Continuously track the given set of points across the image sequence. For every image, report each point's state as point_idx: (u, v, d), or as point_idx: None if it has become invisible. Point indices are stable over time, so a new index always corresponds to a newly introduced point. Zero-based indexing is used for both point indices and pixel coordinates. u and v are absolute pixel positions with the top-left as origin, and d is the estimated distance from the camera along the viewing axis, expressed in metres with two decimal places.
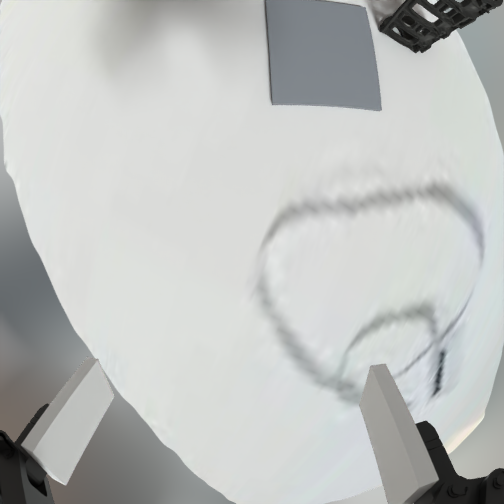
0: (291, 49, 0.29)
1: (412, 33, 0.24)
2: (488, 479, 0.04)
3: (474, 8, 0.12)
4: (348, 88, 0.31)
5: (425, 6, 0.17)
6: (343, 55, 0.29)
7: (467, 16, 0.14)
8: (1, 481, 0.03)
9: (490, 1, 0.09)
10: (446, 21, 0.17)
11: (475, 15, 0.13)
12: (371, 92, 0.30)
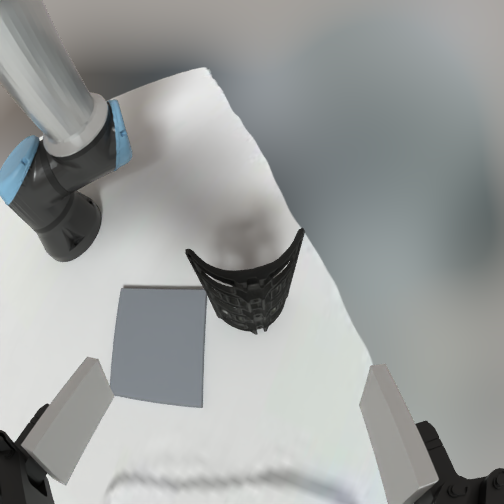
0: (128, 346, 0.38)
1: (235, 319, 0.36)
2: (488, 479, 0.04)
3: None
4: (169, 387, 0.35)
5: None
6: (170, 353, 0.38)
7: (249, 299, 0.26)
8: (1, 481, 0.03)
9: (255, 272, 0.23)
10: (242, 307, 0.30)
11: (265, 290, 0.26)
12: (192, 391, 0.35)
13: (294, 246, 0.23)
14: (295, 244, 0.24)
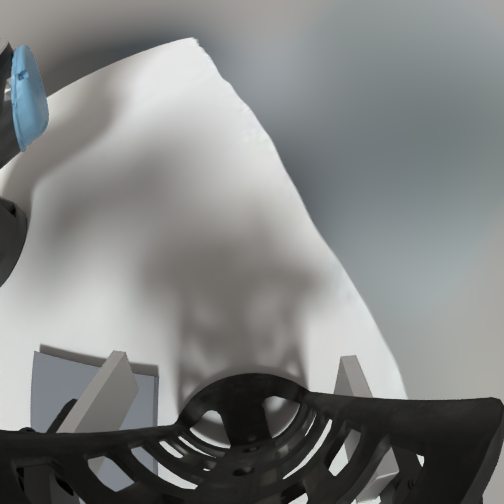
0: None
1: None
2: None
3: None
4: None
5: None
6: (103, 470, 0.15)
7: None
8: (25, 479, 0.04)
9: None
10: None
11: None
12: None
13: None
14: None
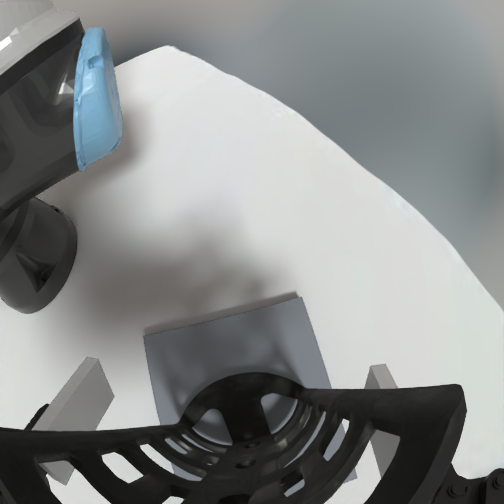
0: None
1: None
2: (488, 479, 0.04)
3: None
4: None
5: None
6: (279, 421, 0.20)
7: None
8: None
9: None
10: None
11: None
12: None
13: None
14: (428, 495, 0.02)
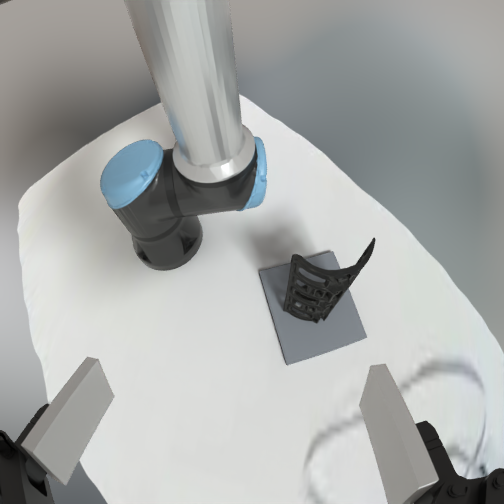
0: (290, 315, 0.48)
1: (305, 311, 0.43)
2: (488, 479, 0.04)
3: (341, 279, 0.33)
4: (338, 332, 0.46)
5: (301, 291, 0.38)
6: None
7: (335, 292, 0.34)
8: (1, 481, 0.03)
9: (349, 270, 0.30)
10: (322, 299, 0.37)
11: (346, 284, 0.34)
12: (356, 327, 0.46)
13: (371, 251, 0.31)
14: (372, 249, 0.31)
